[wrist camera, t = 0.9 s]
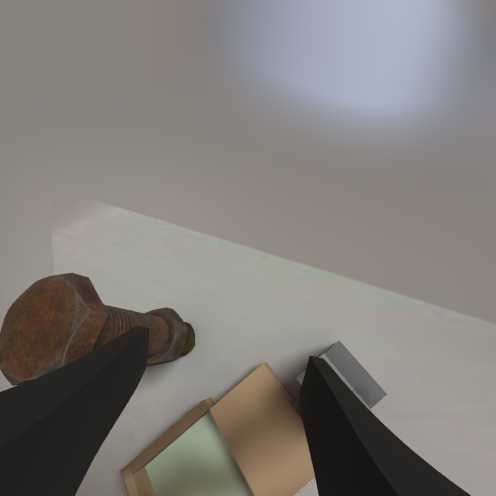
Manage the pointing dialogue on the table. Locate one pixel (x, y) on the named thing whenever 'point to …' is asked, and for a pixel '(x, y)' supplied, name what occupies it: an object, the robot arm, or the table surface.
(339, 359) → the metal block
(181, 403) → the table surface
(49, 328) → the bolt
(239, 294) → the table surface
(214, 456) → the open brown wooden box
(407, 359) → the table surface
